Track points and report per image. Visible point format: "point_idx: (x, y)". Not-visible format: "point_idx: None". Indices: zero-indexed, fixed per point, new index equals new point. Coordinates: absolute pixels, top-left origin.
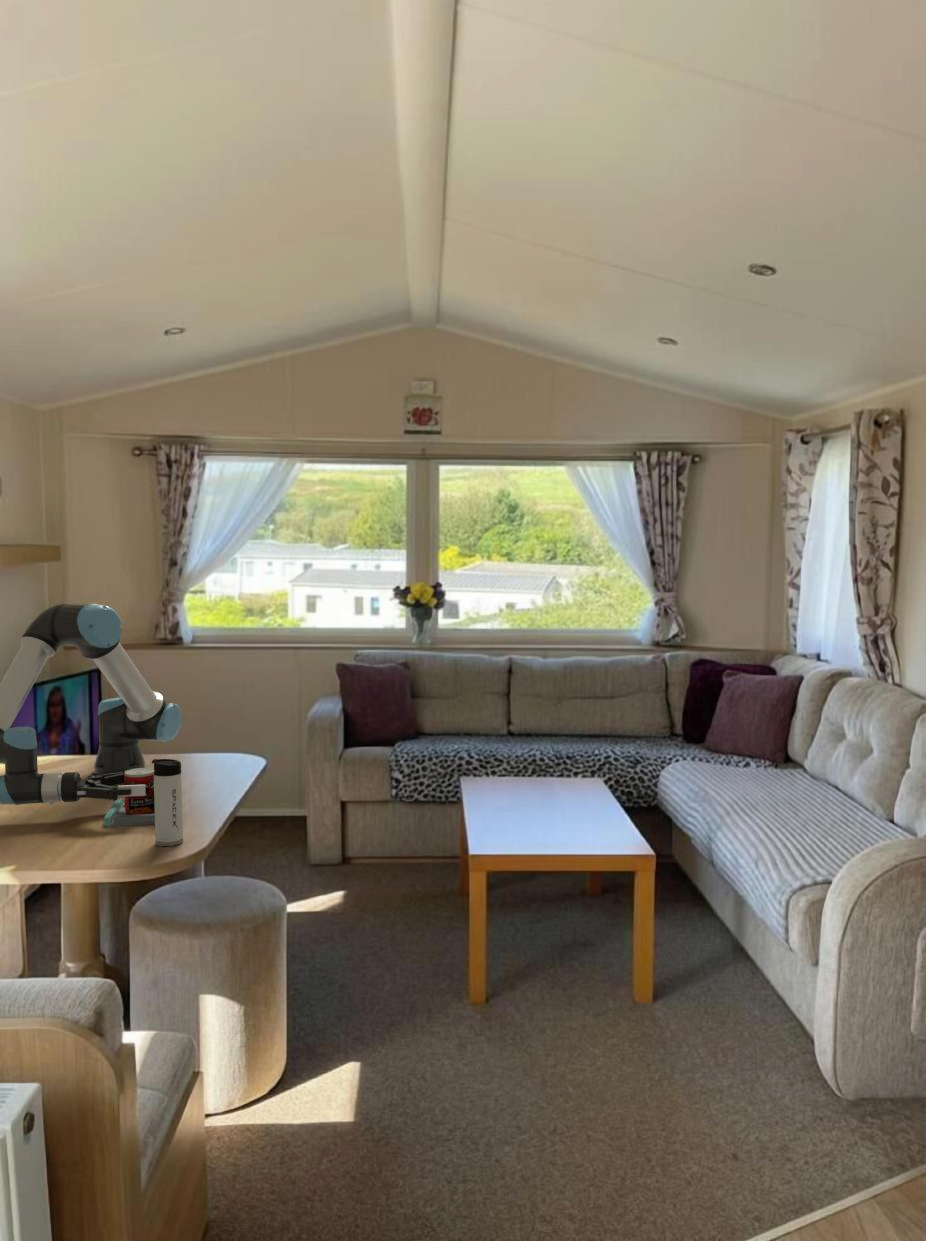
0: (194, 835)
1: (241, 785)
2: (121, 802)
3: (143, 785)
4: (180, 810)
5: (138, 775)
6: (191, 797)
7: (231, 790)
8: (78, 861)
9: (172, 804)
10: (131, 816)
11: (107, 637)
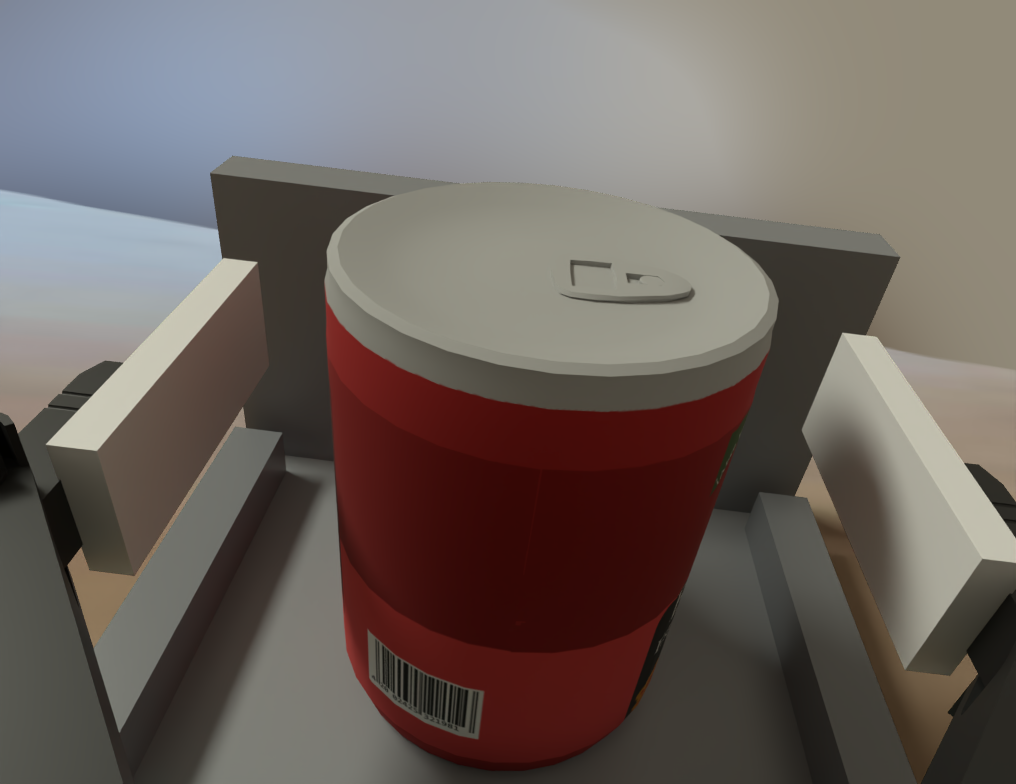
0: (993, 410)
1: (39, 207)
2: None
3: (879, 346)
4: None
5: (769, 283)
6: (120, 359)
7: (112, 237)
8: None
9: None
10: (874, 675)
11: None
